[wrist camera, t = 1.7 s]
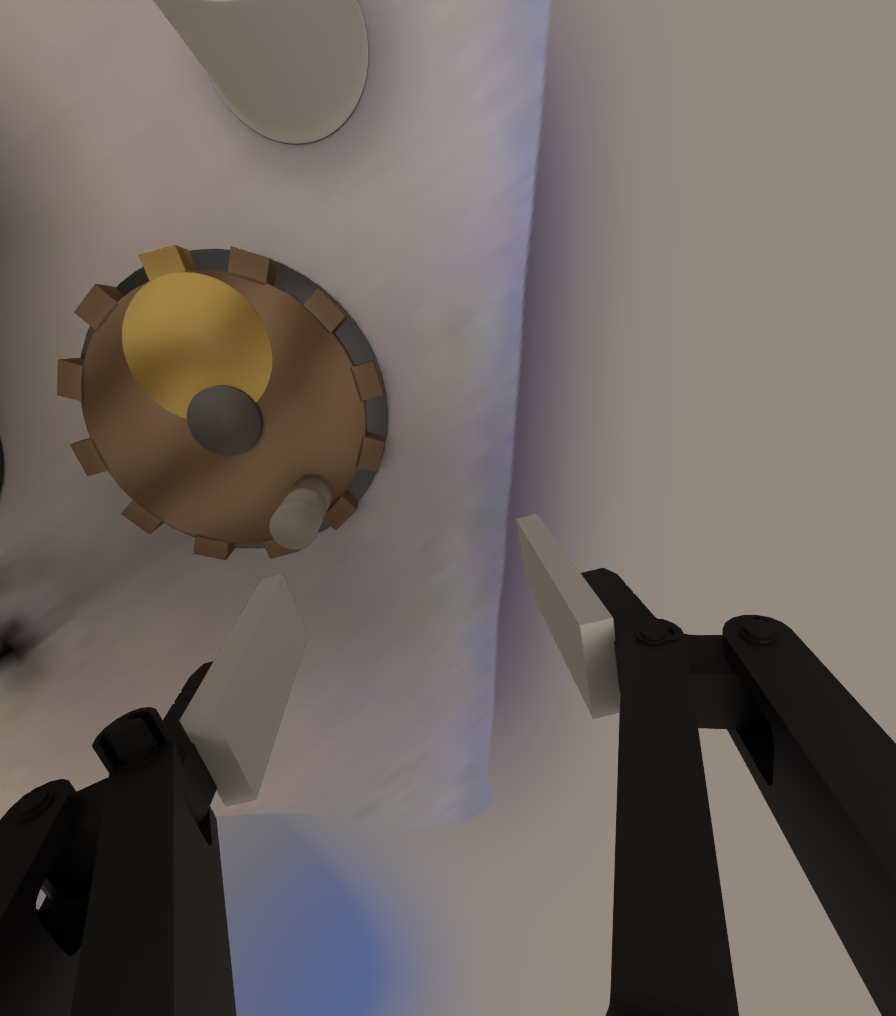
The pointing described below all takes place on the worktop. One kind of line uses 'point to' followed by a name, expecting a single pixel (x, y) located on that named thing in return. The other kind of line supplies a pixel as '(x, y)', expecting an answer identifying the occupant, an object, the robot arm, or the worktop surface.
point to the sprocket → (223, 404)
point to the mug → (279, 60)
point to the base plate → (346, 333)
